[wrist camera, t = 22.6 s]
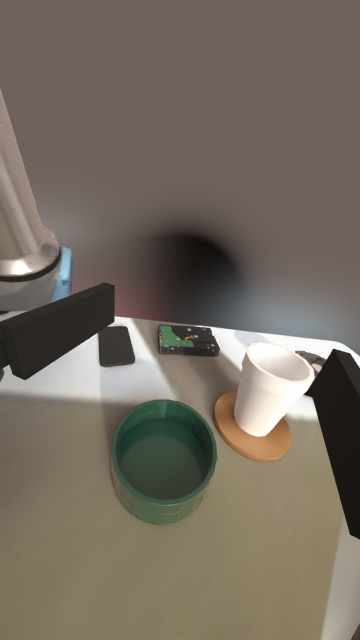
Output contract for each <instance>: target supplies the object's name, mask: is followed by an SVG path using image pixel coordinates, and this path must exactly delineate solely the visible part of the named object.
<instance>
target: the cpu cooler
mask: <svg viewBox="0 0 360 640" xmlns="http://www.w3.org/2000/svg"><path fill="white" fill-rule="evenodd" d="M295 353H297V354H298V355H300V356H301V357H302V358H304V359H305V360H306V361H307V362H308V363H309V364H310V366H311V367H312V368H313V369H314V380H315V378H316V377H317V375H318V373H319V372H320V370H321V368H322V367H323V365H324V363H325V362H326V359H324V358H322V357H320V356H317V355H315V354H311V353H307V352H305V351H295ZM314 380H313V382H314ZM313 382H312V383H313ZM312 383H311V385H312ZM311 385H310V387H311ZM310 387H309V388H308V390H307V391H306V392H305V393H304V395H307V396H310V397H312V394H311V390H310ZM312 398H313V397H312Z"/></svg>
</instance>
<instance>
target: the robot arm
mask: <svg viewBox="0 0 360 640" xmlns="http://www.w3.org/2000/svg"><path fill="white" fill-rule="evenodd" d="M72 265H73V255H72V251H71V250H70V249H69V248H65V247H63V246H61V247H59V243H58V240H57V238H56V236H55V235H54V234H53V233H52V232H51V231H50V230H49V229H47V228H46V227H44V226H42V224H41V221H40V217H39V214H38V211H37V207H36V204H35V201H34V197H33V194H32V191H31V188H30V184H29V181H28V178H27V175H26V171H25V168H24V165H23V161H22V158H21V155H20V152H19V148H18V145H17V142H16V138H15V135H14V132H13V128H12V125H11V122H10V119H9V115H8V112H7V109H6V106H5V102H4V99H3V96H2V93H1V89H0V314H2V313H5V312H7V311H28V312H25V313H22V314H20V315H17V316H14V317H12V318H9V319H6V320H4V321H1V322H0V382H1V380H2V378H3V375H4V370H3V368H4V367H6V366H7V365H9V364H10V367H11V370H12V374H13V375H15V376H17V377H19V378H21V379H23V380H26V379H28V378H29V377H31V376H32V375H34V374H36V373H37V372H39V371H40V370H42V369H43V368H45V367H46V366H48V365H49V364H51V363H52V362H54V361H55V360H57V359H58V358H60V357H61V356H63V355H64V354H66V353H67V352H69V351H70V350H72V349H74V348H75V347H77V346H78V345H80V344H81V343H83V342H84V341H86V340H87V339H89V338H90V337H92V336H93V335H95V334H96V333H98V332H99V331H101V330H102V329H104V328H105V327H107V326H108V325H110V324H112V323H113V322H114V293H115V290H114V288H115V287H114V285H111V284H108V283H102V284H100V285H97V286H94V287H92V288H89V289H86V290H84V291H81V292H78V293H76V294H74V295H71V286H72ZM310 390H311V394H312V397H313V401H314V405H315V408H316V412H317V416H318V419H319V423H320V427H321V430H322V434H323V438H324V441H325V445H326V449H327V452H328V456H329V460H330V463H331V467H332V470H333V474H334V478H335V481H336V485H337V489H338V492H339V496H340V500H341V503H342V507H343V511H344V514H345V518H346V522H347V525H348V529H349V533H350V535H352V536H354V537H356V538H358V539H360V368H359V366H358V365H357V363H356V362H355V360H354V359H353V357H352V356H351V354H350V353H347V352H343V351H340V350H336V349H333V350H332V352H331V353H330V355H329V357H328V358H327V360H326V362H325V363H324V365H323V367H322V368H321V370H320V372H319V373H318V375H317V377H316V378H315V380H314V382H313V383H312V385H311V387H310ZM351 640H360V624H359V626H358V628H357V629H356V631H355V633H354V635H353V637H352V639H351Z"/></svg>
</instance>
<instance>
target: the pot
mask: <svg viewBox="0 0 360 640" xmlns="http://www.w3.org/2000/svg"><path fill="white" fill-rule="evenodd" d="M216 461H217V447H216V442H215V439H214V435H213V432H212V430H211V429H210V427H209V425H208V423H207V422H206V420H205V419H204V418H203V417H202V416H201V415H200V414H199V413H198V412H197V411H195V410H194V409H192V408H191V407H189V406H188V405H185V404H183V403H180V402H178V401H172V400H167V399H166V400H153V401H149V402H145V403H143V404H141V405H139V406H137V407H135V408H134V409H132V410H131V411H130V412H129V413H128V414H126V415H125V417H124V418H123V419H122V421H121V422H120V423H119V425H118V426H117V429H116V431H115V434H114V436H113V441H112V449H111V473H112V481H113V486H114V489H115V492H116V494H117V496H118V498H119V500H120V502H121V503H122V504H123V506H124V507H125V508H126V509H127V510H128V511H129V512H130V513H131V514H132V515H134V516H135V517H137V518H138V519H141V520H143V521H145V522H148V523H152V524H168V523H173V522H176V521H178V520H181V519H183V518H184V517H186V516H187V515H189V514H190V513H191V512H192V511H193V510H194V509H195V508H196V507H197V506H198V505H199V503H200V502H201V500H202V498H203V496H204V494H205V493H206V491H207V488H208V486H209V483H210V481H211V479H212V476H213V474H214V470H215V466H216Z"/></svg>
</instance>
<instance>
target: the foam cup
mask: <svg viewBox="0 0 360 640" xmlns="http://www.w3.org/2000/svg"><path fill="white" fill-rule="evenodd" d="M242 366H243V367H242V372H241V377H240V383H239V388H238V393H237V398H236V403H235V409H234V417H235V421H236V422H237V424H238V425H239V427H240V428H241V429H243V430H244V431H245V432H247V433H248V434H251V435H254V436H257V437H259V436H265V435H266V434H268V433H269V432H270V431H271V430H272V429H273V427H274V426H275V425H276V424H277V423H278V422H279V420H280V419H281V418H282V417H283V416H284V415H285V413H286V412H287V411H288V410H289V409H290V408H291V406H292V405H293V404H294V403H295V402H296V401H297V399H298V398H299V397H300V396H302V395H303V394H304V393H305V392H306V391H307V390H308V388H309V387H310V385H311V383H312V382H313V380H314V369H313V368H312V367H311V366H310V364H309V363H308V362H307V361H306V360H305V359H304V358H302V357H301V356H300V355H298V354H297V353H295V352H294V351H292V350H289V349H287V348H285V347H283V346H280V345H277V344H273V343H269V342H256V343H253V344H251V345H249V346H248V348H247V351H246V354H245V356H244V359H243V362H242Z"/></svg>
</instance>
